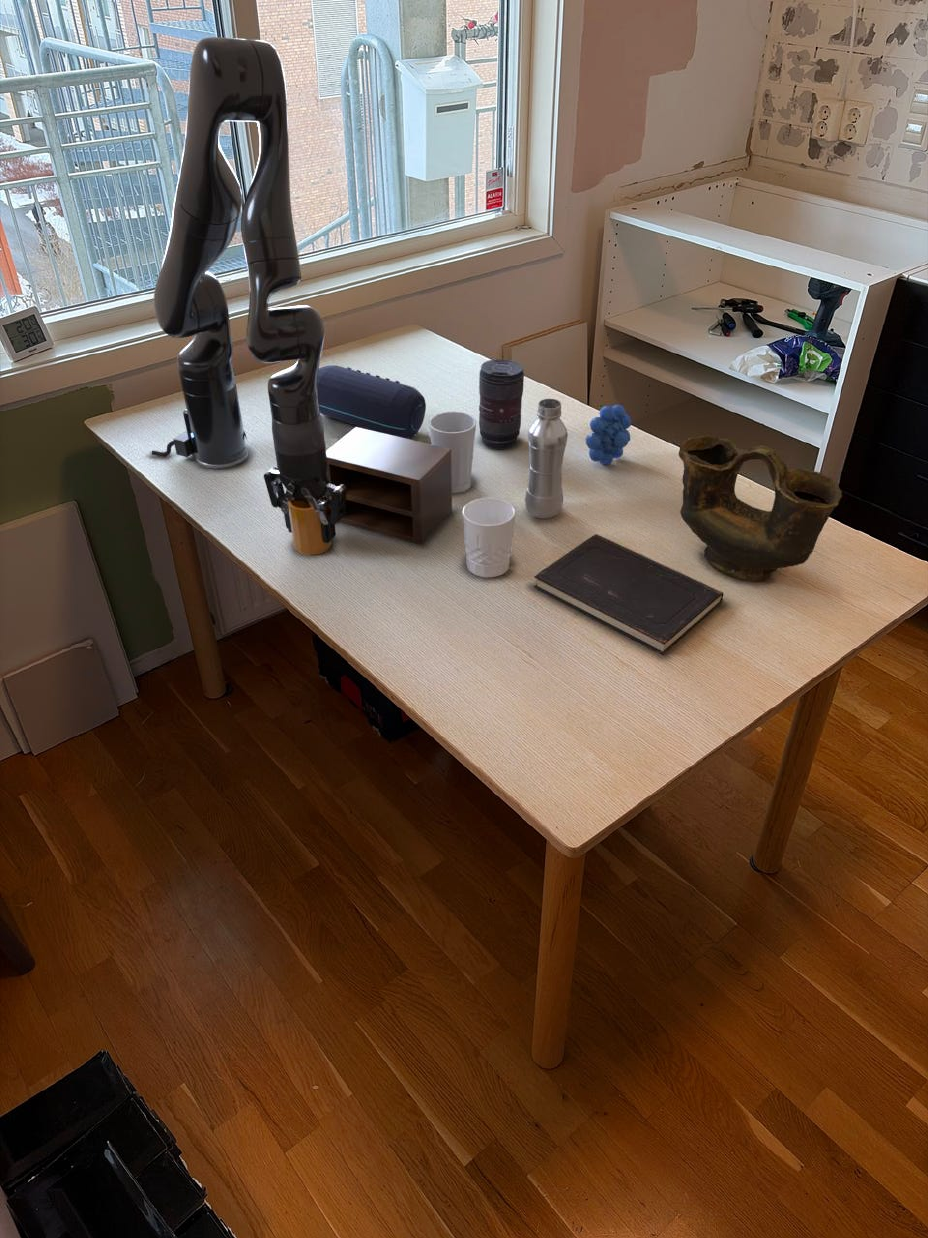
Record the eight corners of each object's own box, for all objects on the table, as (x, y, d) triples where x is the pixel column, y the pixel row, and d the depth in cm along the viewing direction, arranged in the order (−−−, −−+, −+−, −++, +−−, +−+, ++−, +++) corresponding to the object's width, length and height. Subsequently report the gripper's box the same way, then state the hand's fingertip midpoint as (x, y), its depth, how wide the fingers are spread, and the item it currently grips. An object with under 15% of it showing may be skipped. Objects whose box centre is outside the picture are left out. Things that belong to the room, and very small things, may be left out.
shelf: (327, 518, 155) (319, 455, 148) (360, 488, 163) (355, 426, 155) (421, 545, 149) (419, 480, 141) (452, 512, 157) (451, 448, 149)
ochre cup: (286, 549, 148) (280, 504, 143) (307, 530, 152) (301, 486, 147) (317, 558, 146) (312, 513, 141) (338, 539, 150) (333, 494, 145)
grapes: (603, 484, 164) (609, 422, 156) (574, 470, 167) (579, 409, 160) (644, 461, 170) (652, 401, 162) (615, 448, 174) (622, 389, 166)
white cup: (477, 585, 140) (478, 530, 134) (454, 559, 146) (453, 505, 140) (522, 571, 143) (524, 517, 137) (497, 546, 149) (499, 492, 142)
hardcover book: (662, 655, 128) (664, 642, 126) (533, 588, 140) (534, 575, 138) (722, 603, 137) (724, 590, 135) (596, 543, 149) (597, 531, 148)
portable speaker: (436, 430, 180) (434, 382, 173) (406, 451, 173) (404, 402, 167) (334, 400, 190) (330, 353, 184) (303, 418, 184) (297, 371, 177)
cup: (471, 497, 160) (471, 435, 153) (426, 492, 162) (424, 430, 154) (479, 474, 166) (480, 413, 159) (436, 470, 168) (434, 409, 160)
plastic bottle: (567, 507, 158) (576, 398, 145) (554, 527, 153) (561, 416, 140) (532, 498, 160) (538, 391, 147) (518, 518, 155) (522, 408, 142)
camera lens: (521, 451, 173) (524, 376, 164) (478, 451, 173) (479, 375, 164) (520, 431, 179) (523, 357, 170) (478, 430, 179) (479, 357, 170)
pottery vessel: (651, 546, 148) (667, 435, 136) (686, 519, 155) (705, 410, 142) (797, 610, 136) (830, 493, 123) (828, 576, 142) (863, 462, 129)
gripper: (353, 440, 138) (362, 534, 148) (273, 421, 143) (287, 513, 153) (326, 462, 132) (337, 558, 143) (244, 442, 137) (260, 536, 148)
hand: (311, 535), depth 148 cm, fingers closed on ochre cup, 6 cm apart
